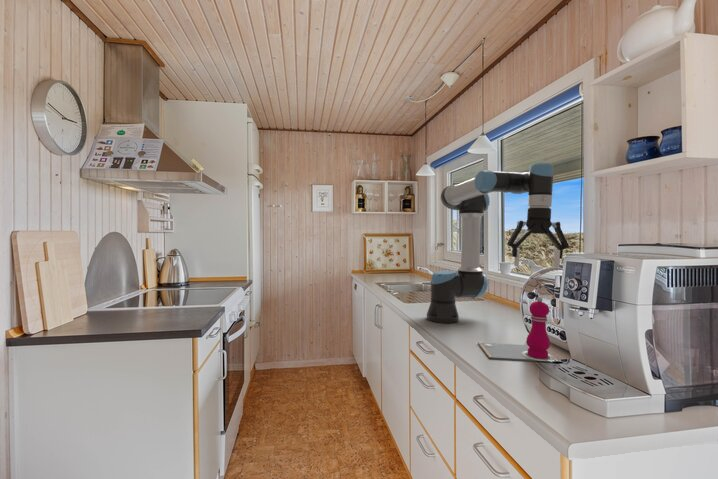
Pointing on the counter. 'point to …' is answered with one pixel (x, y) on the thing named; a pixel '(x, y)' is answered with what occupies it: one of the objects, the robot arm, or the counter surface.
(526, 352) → the slate
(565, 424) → the counter surface
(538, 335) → the pepper mill
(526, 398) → the counter surface
